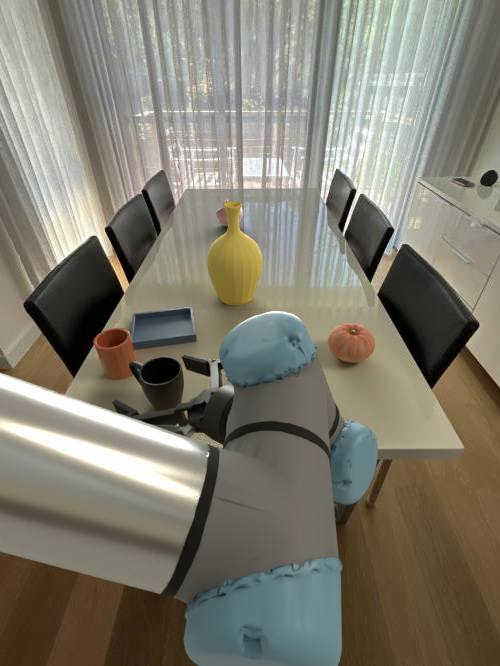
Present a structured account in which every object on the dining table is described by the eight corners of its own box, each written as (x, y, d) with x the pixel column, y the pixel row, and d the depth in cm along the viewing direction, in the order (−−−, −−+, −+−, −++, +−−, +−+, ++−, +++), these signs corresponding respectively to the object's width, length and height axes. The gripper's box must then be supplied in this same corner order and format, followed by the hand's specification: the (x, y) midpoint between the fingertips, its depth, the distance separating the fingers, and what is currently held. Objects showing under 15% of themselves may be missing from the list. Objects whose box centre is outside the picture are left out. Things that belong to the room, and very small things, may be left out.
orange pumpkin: (380, 356, 82) (387, 329, 77) (353, 377, 77) (360, 350, 72) (343, 335, 89) (348, 310, 84) (316, 353, 83) (320, 327, 78)
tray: (131, 350, 85) (129, 343, 83) (134, 320, 95) (132, 313, 94) (197, 341, 87) (196, 334, 86) (192, 313, 98) (192, 306, 96)
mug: (152, 378, 77) (144, 346, 71) (195, 397, 72) (190, 364, 66) (125, 403, 71) (114, 369, 65) (170, 425, 66) (163, 391, 61)
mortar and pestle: (234, 220, 161) (233, 194, 154) (247, 227, 153) (247, 201, 146) (211, 224, 156) (210, 199, 149) (224, 232, 147) (223, 206, 141)
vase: (231, 279, 114) (227, 192, 97) (271, 293, 106) (275, 201, 89) (199, 300, 103) (188, 206, 86) (241, 317, 96) (239, 218, 79)
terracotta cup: (102, 382, 76) (90, 351, 70) (106, 360, 82) (96, 330, 76) (137, 377, 77) (128, 346, 72) (139, 355, 83) (131, 326, 78)
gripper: (176, 521, 35) (93, 450, 50) (306, 388, 50) (214, 363, 65) (150, 470, 32) (70, 410, 47) (297, 344, 47) (202, 329, 62)
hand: (153, 383), depth 56 cm, fingers open, 13 cm apart
